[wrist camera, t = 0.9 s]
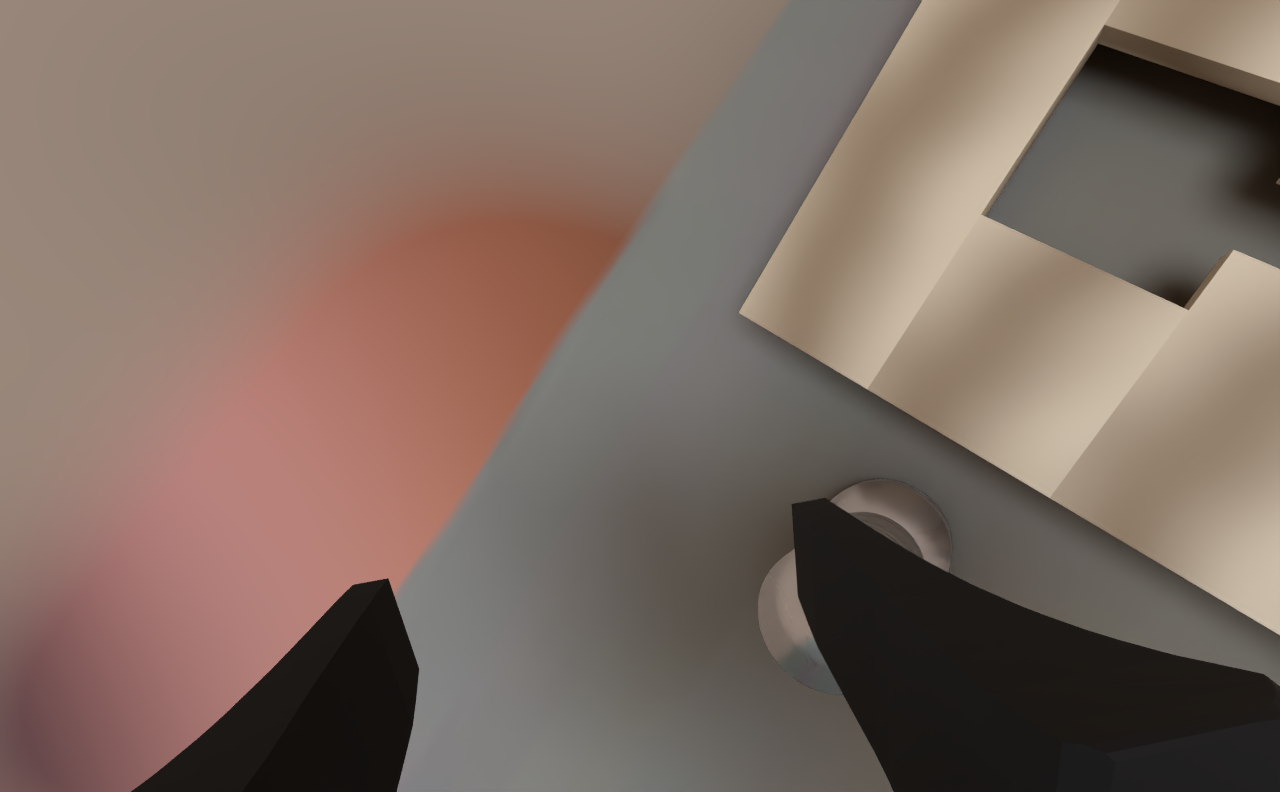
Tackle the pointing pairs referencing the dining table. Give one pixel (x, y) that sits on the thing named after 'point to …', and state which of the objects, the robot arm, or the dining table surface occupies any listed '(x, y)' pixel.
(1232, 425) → the keyhole plate
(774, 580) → the peg
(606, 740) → the dining table surface
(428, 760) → the dining table surface
